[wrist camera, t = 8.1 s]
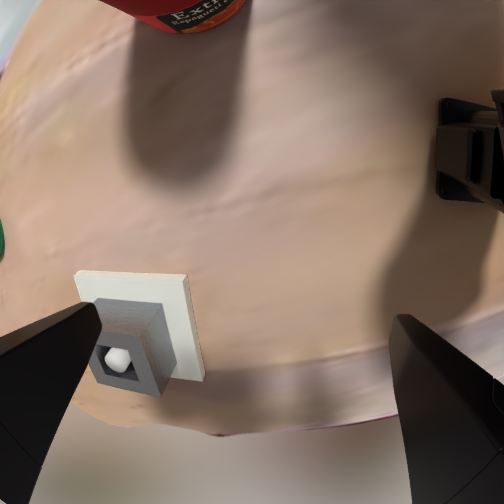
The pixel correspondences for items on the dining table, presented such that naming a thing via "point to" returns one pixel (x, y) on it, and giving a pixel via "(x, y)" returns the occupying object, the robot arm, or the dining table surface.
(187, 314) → the post block
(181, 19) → the canned food
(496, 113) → the robot arm
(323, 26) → the dining table surface
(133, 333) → the square hole block
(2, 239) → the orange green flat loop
